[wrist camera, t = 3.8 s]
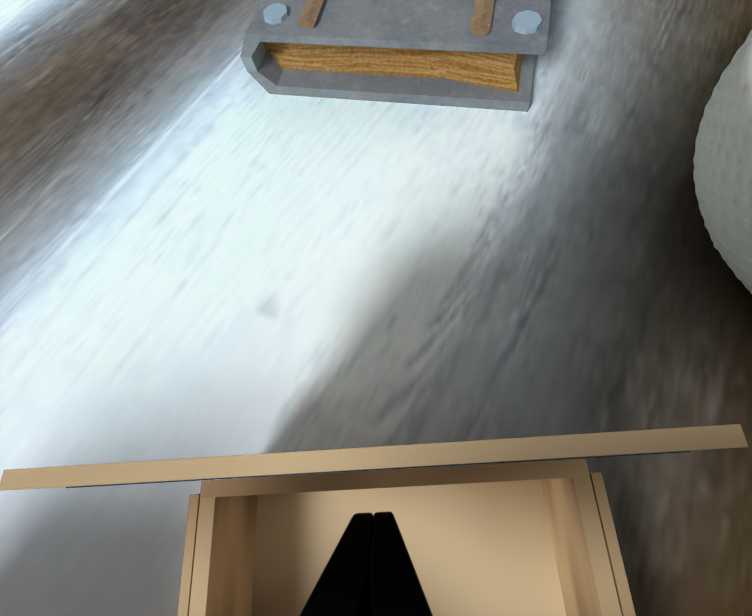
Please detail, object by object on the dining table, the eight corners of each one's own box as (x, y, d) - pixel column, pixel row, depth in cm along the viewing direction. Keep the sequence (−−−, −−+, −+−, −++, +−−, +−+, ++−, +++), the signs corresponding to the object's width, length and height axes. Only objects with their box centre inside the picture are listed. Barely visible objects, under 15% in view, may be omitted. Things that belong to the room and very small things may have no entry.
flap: (749, 448, 5) (738, 422, 6) (-3, 492, 6) (3, 468, 6) (571, 458, 12) (569, 446, 12) (212, 479, 13) (213, 467, 13)
